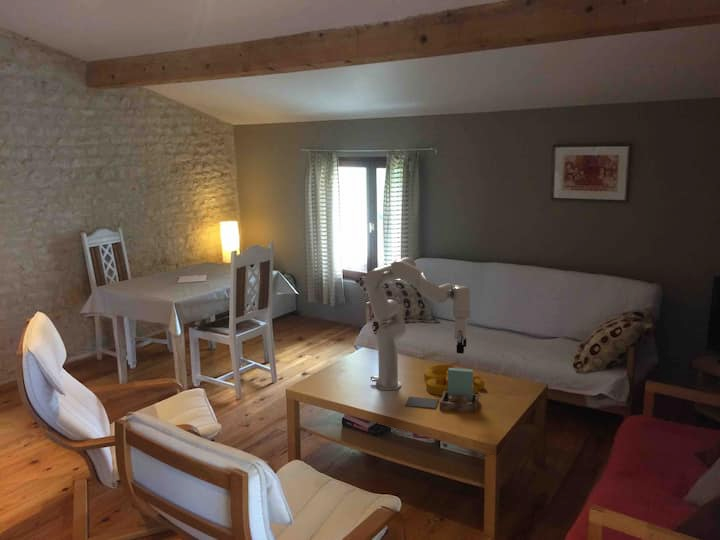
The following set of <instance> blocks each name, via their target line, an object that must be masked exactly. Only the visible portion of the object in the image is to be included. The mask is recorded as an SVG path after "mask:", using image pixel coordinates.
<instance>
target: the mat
mask: <svg viewBox="0 0 720 540" xmlns="http://www.w3.org/2000/svg"><path fill="white" fill-rule="evenodd" d="M439 402H440V399H439V398H429V397H428V398H427V397H418V396H410V395H409V397H408V398H407V400H406V402H405V403H404V407H409V406H411V407H412V408H419V407H421V409H429V408H430V409H432V410H436V409H435V408H437V406H438V404H437V403H439ZM411 407H410V408H411Z"/></svg>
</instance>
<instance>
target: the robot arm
mask: <svg viewBox="0 0 720 540" xmlns="http://www.w3.org/2000/svg"><path fill="white" fill-rule="evenodd" d="M399 279H400V280H401V281H403V282H405V283H407V284H409V285H411V286H412V287H414V288H416V290H417V291H418V292H419V293H420V294H421V296H423V297H424V298H426V299H428V300H429V301H431V302H434V303H436V304H444V303H446V302H449V301H451V300H452V317H453V318H454V335H453V337H454V340H456V354H463V355H464V353H465V348H467V335H468V319H469V318H470V317H471V289H470V287H469V286H468V285H467V286H466V285H458V284H455V283H449V282H448V283H444V284H442V285H439V286H438V285H436V284H434V283H432V282H430V281H429V280H428V279H427V273H426V271H425V270H423V269H421V268H419V267H417V263H416V262H415V260H414V259H413V258H411V257H402V258H399V259H396V260H394V261H393V262H392V263H388V264H385V265H383V266H379V267H376V268H372V269H371V270H370V271H369V272H368V273H367V274H366V275H365V278H364V287H365V291H366V292H367V295H368V301H369V303H370V307H371V311H372V314H373V317H374V319H375V321H377V322H378V323H385V322H387V323H385V324H383V325H381V326H380V327H379V328H378V329H377V331H376V335H375V336H376V342H377V352H378V353H377V354H378V359H377V360H378V375H377V376H374V375H371V376H370V380H371V382H376V383H375V386H376V387H375V388H377V389H379V390H382V391H395V390H398V389H400V388H401V387H402V382H401V381H399V366H398V365H399V357H398V356H399V355H398V347H397V345H396V342H397V341H399V340H400V339H403V337H405V335H406V333H407V327H406V321H405V319H404V315H403V312H402V308H401V306H400V304H399V303H398V301H396V300H395V299H388V296H387V294H386V291H385V290H384V288H383V287H382V286H383V285H385V284H388V283H391V282H394V281H396V280H399Z"/></svg>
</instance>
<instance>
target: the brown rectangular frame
mask: <svg viewBox="0 0 720 540" xmlns="http://www.w3.org/2000/svg"><path fill="white" fill-rule="evenodd" d="M447 399H448V392H446V391H444V393H443V395H441V399H439V410H440V409H441V410H442V411H450V410H451V412H461V413H462V412H463V413H472V414H476V412H477V410H478V409H477V408H478V404H479V394H477V393H473V404H463V403H453V402H448V401H447ZM476 409H477V410H476Z"/></svg>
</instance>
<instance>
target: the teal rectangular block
mask: <svg viewBox="0 0 720 540" xmlns="http://www.w3.org/2000/svg"><path fill="white" fill-rule="evenodd" d="M473 377H474V369H472V368H471V369H470V368H465V369H463V368H457V367H456V368H455V367H453V368H449V369H448V400H449V396H450V395H455V396H466V397H467V402H473V394H474V393H473ZM448 400H447V401H448ZM473 403H474V402H473Z"/></svg>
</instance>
